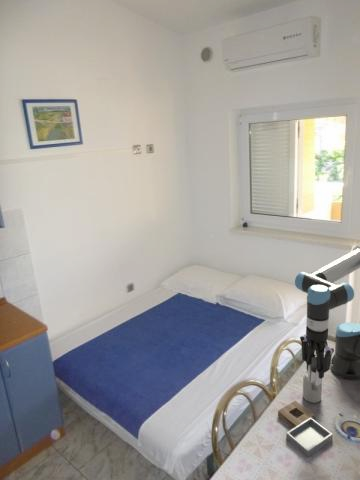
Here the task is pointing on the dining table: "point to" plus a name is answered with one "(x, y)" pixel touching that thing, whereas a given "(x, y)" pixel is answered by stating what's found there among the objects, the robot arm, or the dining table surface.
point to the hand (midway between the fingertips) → (314, 381)
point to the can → (310, 390)
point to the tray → (309, 436)
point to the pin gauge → (314, 372)
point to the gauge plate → (293, 408)
